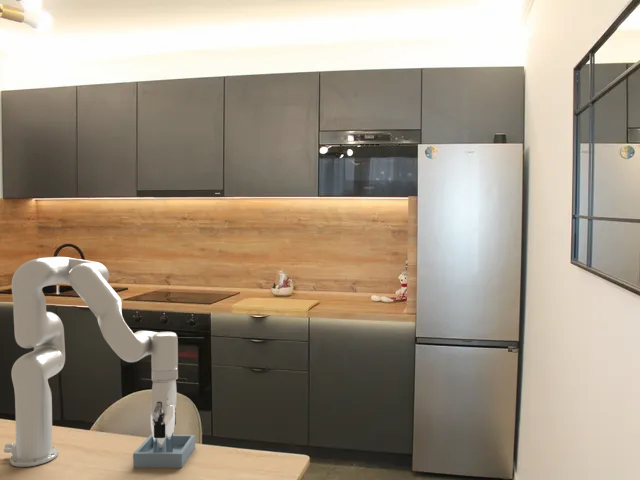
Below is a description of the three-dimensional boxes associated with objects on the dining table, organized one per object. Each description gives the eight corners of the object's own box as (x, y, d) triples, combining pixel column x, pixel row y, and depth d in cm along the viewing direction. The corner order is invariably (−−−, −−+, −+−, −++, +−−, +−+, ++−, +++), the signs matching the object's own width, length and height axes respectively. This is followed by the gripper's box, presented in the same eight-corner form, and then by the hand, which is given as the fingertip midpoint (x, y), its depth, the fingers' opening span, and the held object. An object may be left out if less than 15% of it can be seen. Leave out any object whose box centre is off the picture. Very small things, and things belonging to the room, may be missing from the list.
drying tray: (133, 467, 148) (133, 453, 148) (150, 447, 162) (150, 434, 162) (181, 467, 147) (181, 453, 147) (195, 447, 161) (195, 434, 161)
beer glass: (167, 460, 149) (168, 408, 150) (145, 459, 150) (146, 406, 151) (179, 451, 156) (179, 401, 156) (158, 450, 157) (158, 400, 158)
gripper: (162, 366, 163) (162, 420, 163) (141, 382, 146) (142, 442, 146) (185, 366, 163) (186, 420, 163) (167, 382, 146) (168, 443, 146)
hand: (165, 431), depth 155 cm, fingers open, 9 cm apart
